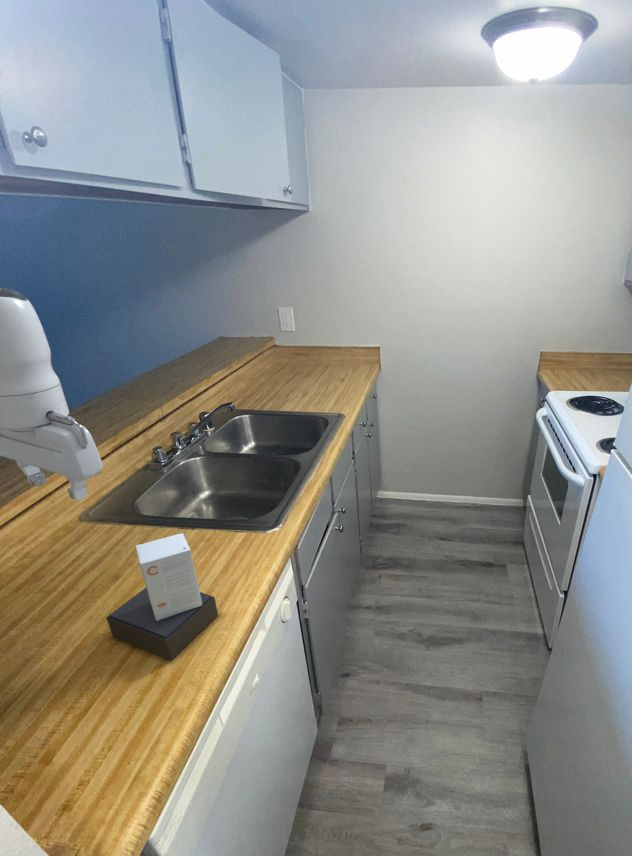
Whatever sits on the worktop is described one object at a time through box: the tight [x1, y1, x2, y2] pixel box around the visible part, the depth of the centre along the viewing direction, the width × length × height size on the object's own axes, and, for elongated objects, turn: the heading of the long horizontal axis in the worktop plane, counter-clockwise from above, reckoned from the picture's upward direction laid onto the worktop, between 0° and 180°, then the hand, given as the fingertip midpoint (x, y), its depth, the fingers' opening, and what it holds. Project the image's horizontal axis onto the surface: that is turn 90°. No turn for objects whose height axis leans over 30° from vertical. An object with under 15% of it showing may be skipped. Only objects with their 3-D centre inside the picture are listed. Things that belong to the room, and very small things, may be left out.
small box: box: [135, 532, 202, 621], centre depth 85 cm, size 8×6×13 cm
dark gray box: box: [105, 587, 219, 662], centre depth 89 cm, size 14×12×5 cm
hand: (58, 490), depth 74 cm, fingers open, 8 cm apart
